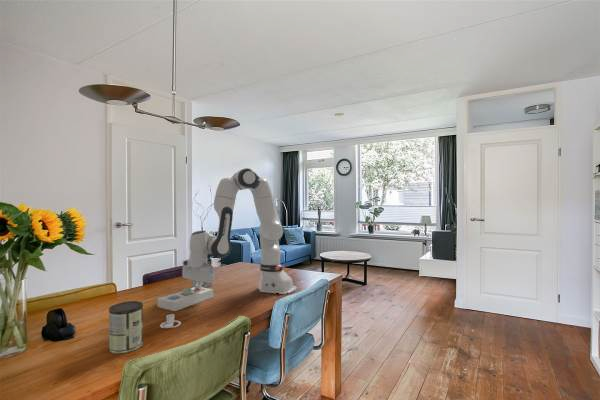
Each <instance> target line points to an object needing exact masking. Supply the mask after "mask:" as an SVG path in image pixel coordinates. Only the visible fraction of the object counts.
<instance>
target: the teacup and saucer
mask: <svg viewBox="0 0 600 400" xmlns="http://www.w3.org/2000/svg"><path fill="white" fill-rule="evenodd" d="M165 316H166V319H165V320H166V321H164V322H162V323H161V324H160V325H159V327H160V328H161V329H173V328H176V327H178V326H180V325H181V324H182V321H179V320H176V319H175V316H176V315H175V314H174V313H169V314H166V315H165ZM175 323H178V324H177V325H175V326H174V324H175Z"/></svg>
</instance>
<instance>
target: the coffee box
mask: <svg viewBox="0 0 600 400" xmlns="http://www.w3.org/2000/svg"><path fill="white" fill-rule="evenodd" d="M212 261H213V260H212V258H208V257H207V264H211V265H212ZM212 266H213V265H212ZM198 285H199V283H198ZM211 286H213V282H211V283H207V282H203V284H202V285H201V287H203V288H209V287H211ZM193 287H195V285H194V282H193V281H192V288H193Z"/></svg>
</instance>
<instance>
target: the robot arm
mask: <svg viewBox="0 0 600 400" xmlns="http://www.w3.org/2000/svg"><path fill="white" fill-rule="evenodd" d="M243 190H249V191H250V192H251V194H252V197H253V203H254V206H255V211H256V214H257V216H258V219H259V220H258V221H259V222H260V224H259V226H258V227H259V228H258V229H259V242H260V266H259V269H260V277H259V283H258V287H257V289H258V290H259V292H260V293H271V294H276V293H279V295H288V294H291V293H294V292H296V291H297V290H298V289H297V288H298V287H297V285H296V286H295V285H294V284H293V283H294V282H293V278H292V277H291V276H290V275H289V274H287V273H286V272H285V271H284V270H283V269H284V267H285V265H284V264H283V265H282V263H281V247H280V243H279V240H280V239H281V238H282V237H283V234H284V228H283V226H282V222H281V220H280V217H279V215H278V212H277V209H276V206H275V200H274V197H273V193H272V189H271V186H270V183H269V182H268V179H265V178H262V177H261V178H260V176H259V175H258V173H256V171H255V170H254V169H252V168H243V169H240V170H237V172H235V173H234V174H233V175H232V176H231V177H223V178H222V179H220V181H219V183H218V185H217V188H216V191H215V194H214V200H213V209H214V211H215V212H216V213H217V216H218V219H219V223H218V229H217V235H215V234H214V235H213V234H211V233H209V232H207V231H206V230H198V231H194V232H192V233H191V235H190V238H189V252H190V253H189V257H188V259H185V260H182V265H183V266H182V271H181V272H182V273H181V274H182V278H183V279H186V280H187V279H188V280H190V281H191V280H192V283H193V282H194V285H195V289H201V285H202V284H203V282H207V283H211V282H212V283H213V282H214V281H215V279H216V278H215V270H214V266H213V265H211V264H207V258H208V255H213V257H215V258H217V259H224V258H226V257H227V256H229V255H230V253H231V250H232V243H231V233H232V232H231V231H232V224H233V214H234V209H235V204H236V200H237V194H238V192H239V191H243ZM198 283H199V285H198ZM287 293H288V294H287Z"/></svg>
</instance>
